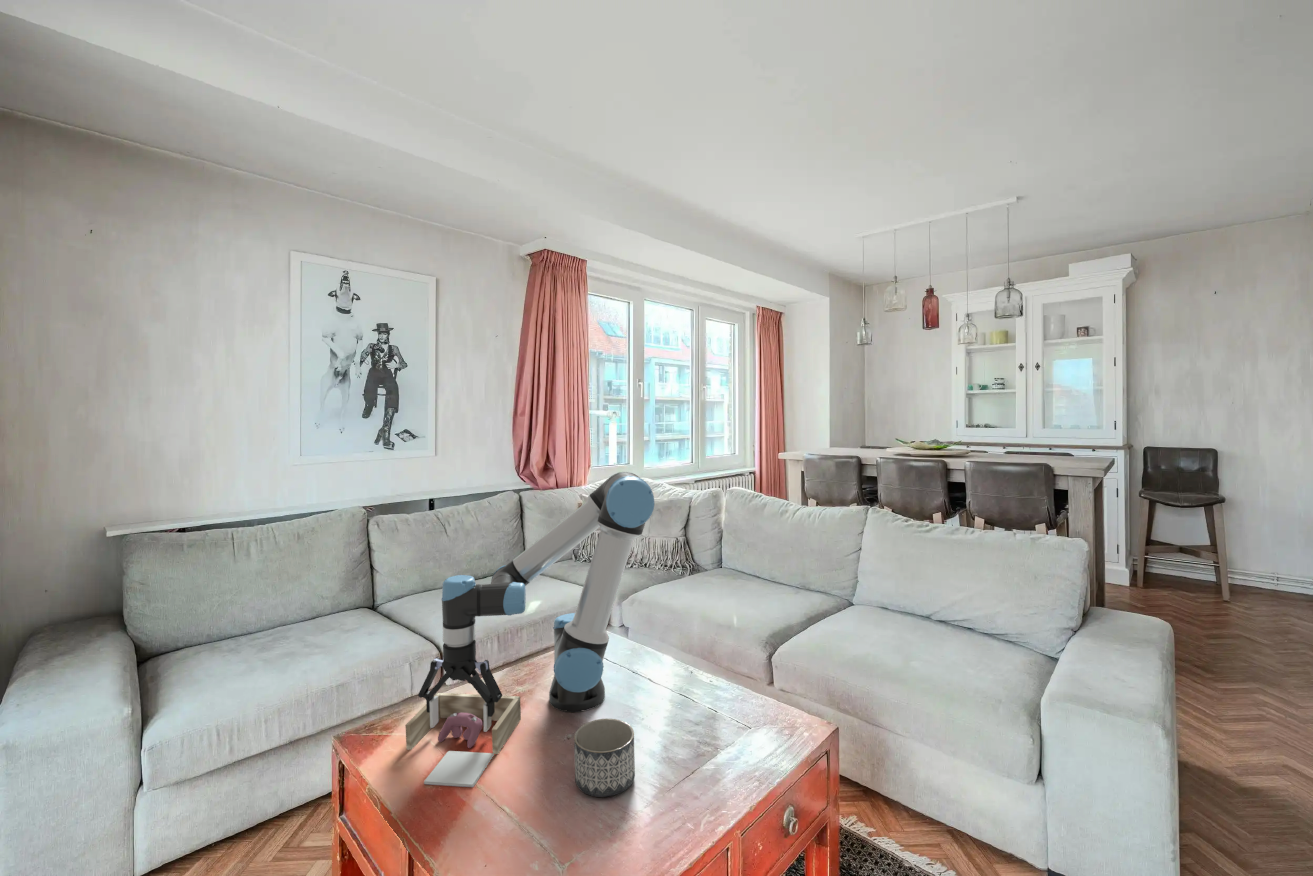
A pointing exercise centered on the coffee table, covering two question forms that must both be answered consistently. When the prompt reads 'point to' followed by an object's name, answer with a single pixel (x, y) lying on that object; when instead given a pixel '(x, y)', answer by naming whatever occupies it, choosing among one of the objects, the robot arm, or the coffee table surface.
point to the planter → (604, 757)
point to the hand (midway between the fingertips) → (460, 726)
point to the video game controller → (455, 725)
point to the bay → (470, 703)
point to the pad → (459, 769)
